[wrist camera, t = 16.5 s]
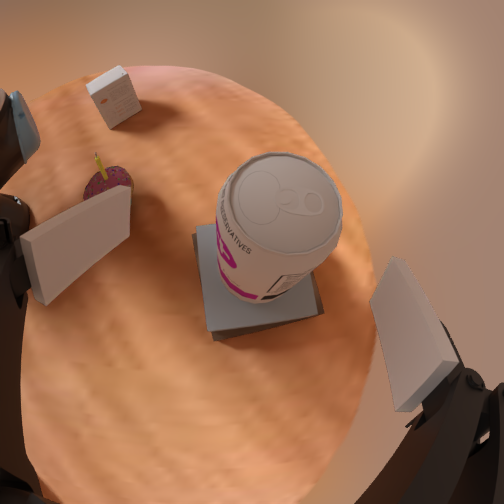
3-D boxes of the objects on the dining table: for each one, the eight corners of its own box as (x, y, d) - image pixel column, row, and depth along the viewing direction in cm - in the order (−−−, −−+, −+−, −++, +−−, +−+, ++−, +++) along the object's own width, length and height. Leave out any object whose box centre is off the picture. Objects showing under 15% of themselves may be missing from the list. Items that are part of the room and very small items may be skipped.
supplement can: (214, 301, 28) (208, 259, 14) (222, 228, 31) (225, 137, 17) (291, 307, 29) (355, 272, 15) (293, 235, 31) (344, 155, 17)
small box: (134, 99, 48) (120, 63, 38) (142, 110, 47) (128, 72, 37) (102, 118, 47) (84, 84, 37) (109, 130, 45) (90, 95, 35)
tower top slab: (201, 238, 35) (195, 226, 31) (291, 226, 36) (297, 213, 32) (212, 331, 32) (207, 331, 28) (309, 316, 32) (317, 314, 29)
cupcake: (118, 176, 42) (89, 133, 30) (152, 194, 41) (126, 149, 29) (88, 216, 40) (50, 180, 28) (121, 238, 38) (83, 204, 27)
